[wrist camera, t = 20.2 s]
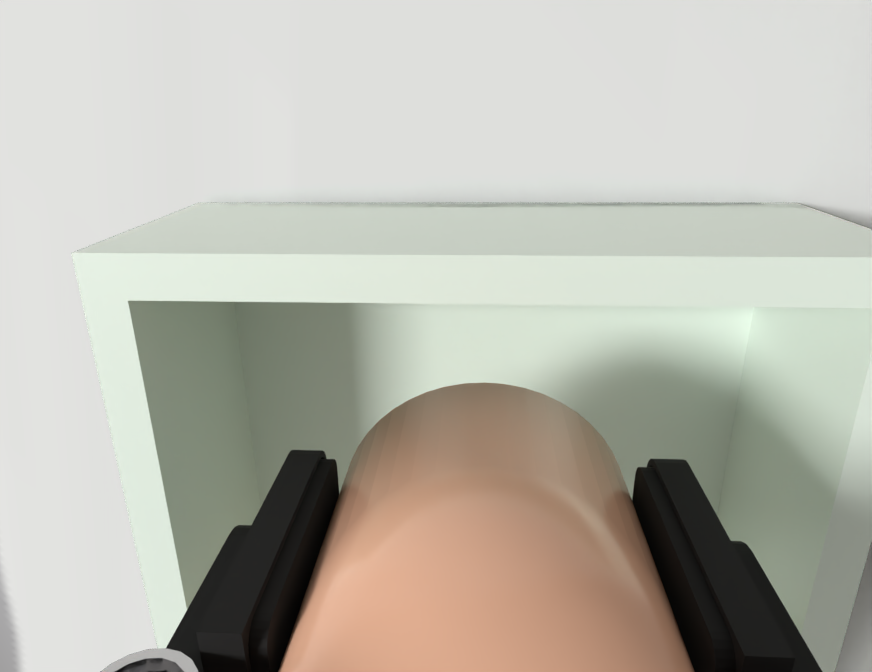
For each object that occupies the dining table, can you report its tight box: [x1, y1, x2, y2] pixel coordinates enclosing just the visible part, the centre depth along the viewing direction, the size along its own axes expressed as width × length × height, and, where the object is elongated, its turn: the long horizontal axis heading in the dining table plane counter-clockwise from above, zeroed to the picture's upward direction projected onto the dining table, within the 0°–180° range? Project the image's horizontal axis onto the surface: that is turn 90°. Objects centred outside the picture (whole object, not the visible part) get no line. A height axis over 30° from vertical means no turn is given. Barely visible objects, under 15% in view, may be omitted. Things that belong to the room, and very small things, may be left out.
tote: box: [71, 203, 872, 672], centre depth 15 cm, size 18×14×5 cm
